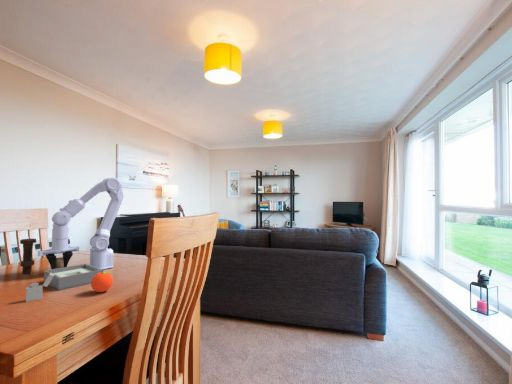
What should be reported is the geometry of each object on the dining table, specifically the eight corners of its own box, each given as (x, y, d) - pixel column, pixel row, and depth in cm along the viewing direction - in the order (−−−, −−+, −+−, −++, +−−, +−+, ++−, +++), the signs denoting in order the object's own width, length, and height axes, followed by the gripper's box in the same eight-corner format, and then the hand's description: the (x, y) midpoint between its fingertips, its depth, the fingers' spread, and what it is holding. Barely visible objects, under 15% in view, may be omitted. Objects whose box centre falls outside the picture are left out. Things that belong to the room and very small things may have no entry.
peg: (62, 272, 117) (62, 257, 117) (65, 274, 115) (65, 258, 115) (52, 274, 114) (52, 258, 114) (55, 276, 112) (55, 259, 112)
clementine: (111, 286, 100) (111, 267, 100) (119, 290, 95) (119, 271, 96) (87, 292, 94) (88, 272, 94) (94, 296, 89) (95, 275, 89)
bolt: (24, 275, 111) (25, 240, 112) (15, 274, 112) (16, 240, 113) (38, 272, 117) (39, 238, 118) (29, 271, 118) (30, 238, 119)
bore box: (85, 273, 116) (86, 263, 116) (102, 280, 106) (102, 269, 107) (43, 282, 104) (44, 270, 104) (58, 290, 94) (59, 278, 94)
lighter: (25, 302, 84) (26, 276, 84) (25, 300, 85) (26, 275, 85) (53, 297, 88) (54, 273, 89) (53, 295, 90) (54, 272, 90)
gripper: (75, 236, 123) (74, 265, 123) (36, 239, 111) (35, 271, 111) (81, 237, 119) (80, 267, 118) (41, 241, 107) (40, 274, 107)
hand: (58, 269), depth 114 cm, fingers closed on peg, 4 cm apart
